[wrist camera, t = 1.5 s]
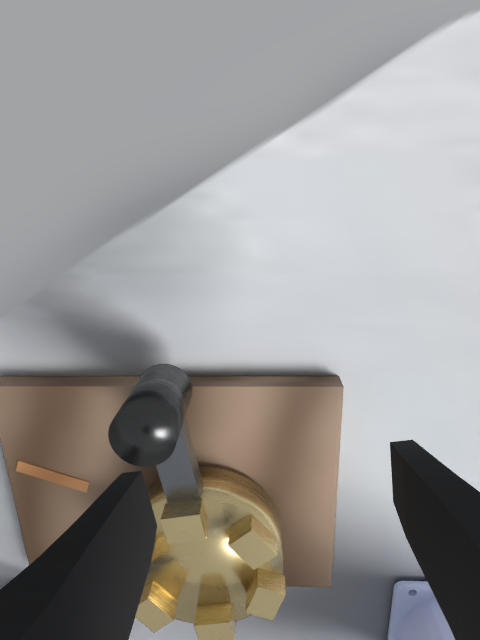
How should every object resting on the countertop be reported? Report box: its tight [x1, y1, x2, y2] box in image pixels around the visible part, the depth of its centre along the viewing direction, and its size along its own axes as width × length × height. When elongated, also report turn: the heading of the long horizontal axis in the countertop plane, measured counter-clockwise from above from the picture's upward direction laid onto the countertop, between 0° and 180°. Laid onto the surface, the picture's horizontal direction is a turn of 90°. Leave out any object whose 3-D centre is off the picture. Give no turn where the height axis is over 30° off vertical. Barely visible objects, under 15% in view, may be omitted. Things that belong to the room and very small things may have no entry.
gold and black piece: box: [108, 364, 286, 640], centre depth 19 cm, size 14×8×5 cm, turn 11°
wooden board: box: [0, 376, 343, 587], centre depth 23 cm, size 18×13×1 cm
